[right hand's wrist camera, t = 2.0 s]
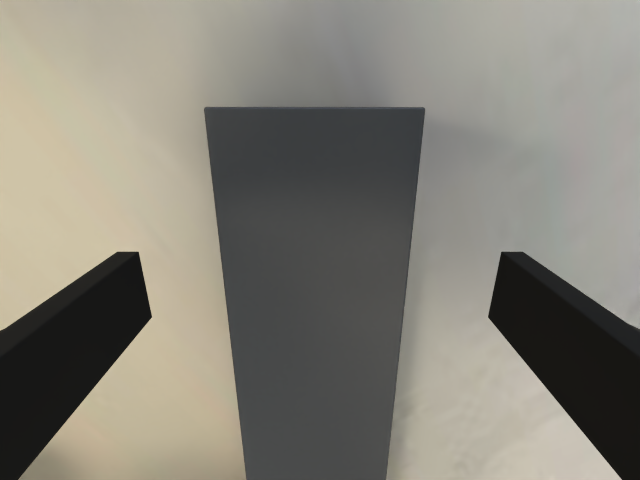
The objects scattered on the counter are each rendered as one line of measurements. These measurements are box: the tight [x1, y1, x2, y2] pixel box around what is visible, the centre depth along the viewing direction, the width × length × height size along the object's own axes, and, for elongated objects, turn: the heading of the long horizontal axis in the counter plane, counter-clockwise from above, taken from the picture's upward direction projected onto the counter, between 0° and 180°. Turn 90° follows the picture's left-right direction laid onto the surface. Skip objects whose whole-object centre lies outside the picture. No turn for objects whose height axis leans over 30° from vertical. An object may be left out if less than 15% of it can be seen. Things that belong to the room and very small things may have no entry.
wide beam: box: [204, 107, 425, 480], centre depth 27 cm, size 52×9×7 cm, turn 0°
